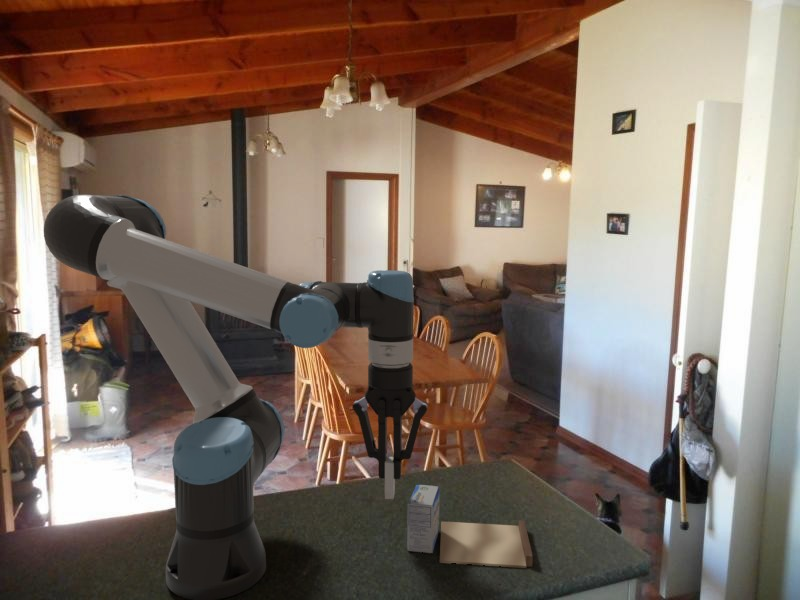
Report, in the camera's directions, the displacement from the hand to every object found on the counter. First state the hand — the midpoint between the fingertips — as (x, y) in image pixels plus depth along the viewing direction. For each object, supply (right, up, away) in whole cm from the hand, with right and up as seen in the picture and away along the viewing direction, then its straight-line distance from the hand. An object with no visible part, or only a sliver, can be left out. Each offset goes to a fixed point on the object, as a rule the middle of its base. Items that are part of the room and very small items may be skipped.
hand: (389, 495), depth 108 cm
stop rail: (+23, -9, -1) cm, 25 cm away
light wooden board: (+16, -8, 0) cm, 18 cm away
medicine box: (+6, -8, +1) cm, 10 cm away
